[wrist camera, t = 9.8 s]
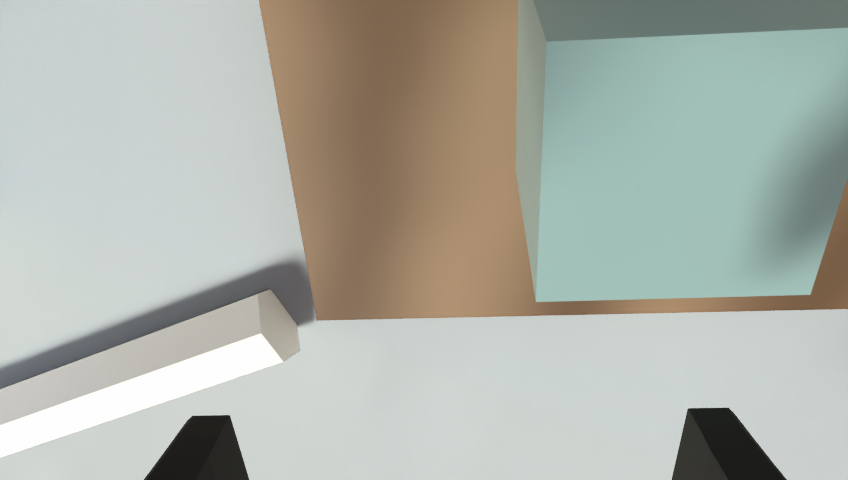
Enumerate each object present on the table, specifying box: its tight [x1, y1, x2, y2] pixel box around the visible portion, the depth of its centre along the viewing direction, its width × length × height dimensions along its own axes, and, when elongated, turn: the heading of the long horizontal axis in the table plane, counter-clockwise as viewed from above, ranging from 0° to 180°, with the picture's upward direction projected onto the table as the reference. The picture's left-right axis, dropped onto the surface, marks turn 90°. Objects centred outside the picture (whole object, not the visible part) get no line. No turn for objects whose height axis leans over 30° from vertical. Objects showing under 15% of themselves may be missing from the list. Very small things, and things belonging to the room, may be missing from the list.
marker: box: [0, 289, 300, 457], centre depth 24 cm, size 3×2×16 cm
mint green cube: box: [515, 0, 848, 302], centre depth 14 cm, size 5×5×5 cm
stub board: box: [259, 0, 848, 320], centre depth 16 cm, size 16×14×4 cm
